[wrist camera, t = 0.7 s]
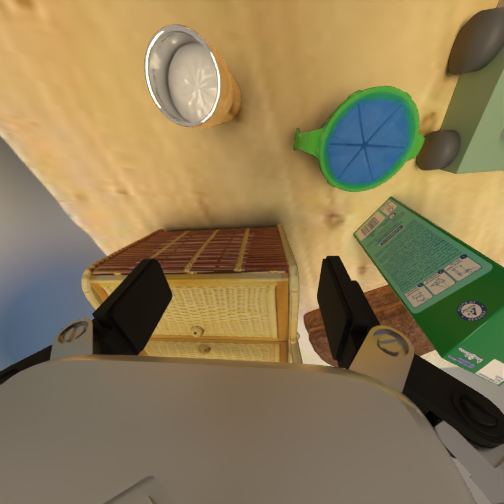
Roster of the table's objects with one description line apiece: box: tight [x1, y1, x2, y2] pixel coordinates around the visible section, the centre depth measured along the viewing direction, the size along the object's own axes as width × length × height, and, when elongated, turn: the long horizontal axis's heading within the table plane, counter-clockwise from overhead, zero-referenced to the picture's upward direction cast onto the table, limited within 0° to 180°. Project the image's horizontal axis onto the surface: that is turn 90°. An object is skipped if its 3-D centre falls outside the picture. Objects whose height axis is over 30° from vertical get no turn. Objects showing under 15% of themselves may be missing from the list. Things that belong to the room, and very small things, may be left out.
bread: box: [304, 285, 436, 368], centre depth 47 cm, size 17×29×11 cm, turn 124°
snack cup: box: [293, 86, 425, 192], centre depth 26 cm, size 16×10×10 cm
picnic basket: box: [82, 224, 303, 364], centre depth 33 cm, size 29×26×30 cm
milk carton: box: [353, 197, 504, 386], centre depth 28 cm, size 9×9×25 cm
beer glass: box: [144, 24, 241, 128], centre depth 23 cm, size 7×7×15 cm
